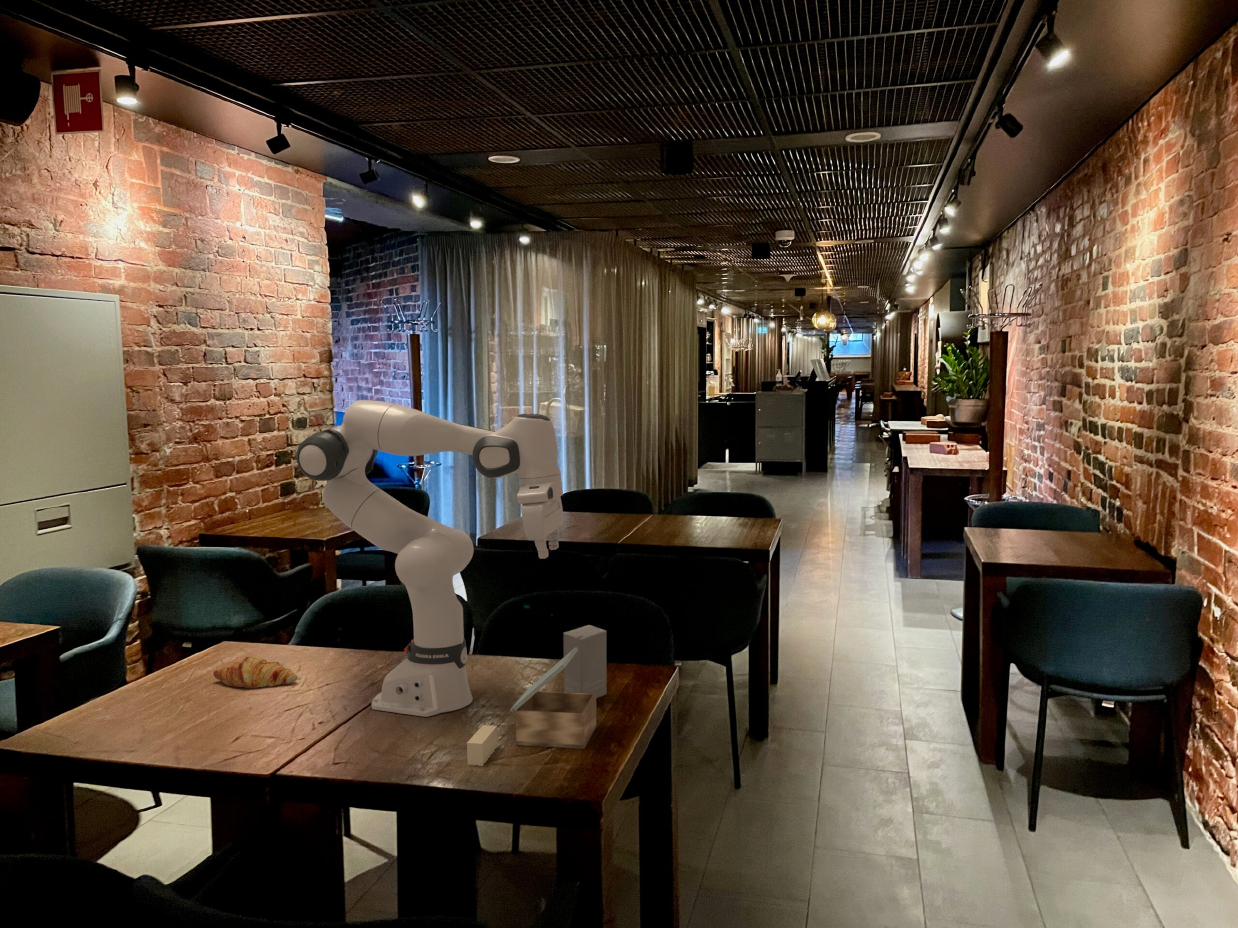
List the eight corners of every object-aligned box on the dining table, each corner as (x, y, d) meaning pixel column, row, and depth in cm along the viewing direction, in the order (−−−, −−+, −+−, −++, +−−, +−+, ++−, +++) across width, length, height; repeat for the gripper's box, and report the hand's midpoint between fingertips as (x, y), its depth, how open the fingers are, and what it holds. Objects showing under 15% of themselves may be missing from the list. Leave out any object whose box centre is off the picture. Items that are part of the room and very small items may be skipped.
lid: (511, 713, 184) (508, 710, 184) (528, 693, 196) (525, 690, 196) (565, 667, 181) (562, 663, 181) (578, 649, 193) (575, 646, 193)
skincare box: (588, 688, 217) (587, 623, 215) (609, 696, 212) (608, 629, 210) (561, 697, 211) (560, 630, 209) (582, 705, 206) (581, 636, 204)
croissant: (302, 694, 226) (308, 661, 229) (286, 687, 217) (292, 653, 220) (219, 691, 228) (226, 658, 231) (200, 684, 219) (207, 651, 222)
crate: (516, 744, 184) (515, 710, 184) (532, 722, 196) (531, 690, 195) (584, 748, 182) (583, 714, 181) (596, 726, 194) (596, 693, 193)
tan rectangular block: (467, 765, 175) (467, 742, 175) (483, 746, 184) (482, 725, 184) (482, 766, 175) (482, 743, 174) (497, 747, 184) (496, 725, 183)
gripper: (539, 484, 205) (546, 545, 206) (514, 497, 185) (522, 564, 186) (566, 482, 204) (573, 543, 205) (544, 494, 184) (552, 561, 185)
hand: (549, 553), depth 196 cm, fingers open, 8 cm apart
